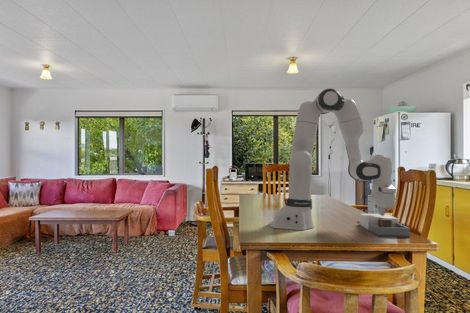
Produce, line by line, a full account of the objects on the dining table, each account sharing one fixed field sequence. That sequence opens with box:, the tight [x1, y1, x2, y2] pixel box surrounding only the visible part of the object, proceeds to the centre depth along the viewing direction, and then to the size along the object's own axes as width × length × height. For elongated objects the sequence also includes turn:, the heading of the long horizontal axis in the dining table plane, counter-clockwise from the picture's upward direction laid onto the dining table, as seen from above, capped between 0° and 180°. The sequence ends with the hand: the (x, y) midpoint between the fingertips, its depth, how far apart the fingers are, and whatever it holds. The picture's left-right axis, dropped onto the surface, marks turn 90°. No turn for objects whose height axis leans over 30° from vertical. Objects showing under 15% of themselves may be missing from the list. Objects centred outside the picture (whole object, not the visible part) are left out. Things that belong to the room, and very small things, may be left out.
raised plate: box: [359, 212, 399, 231], centre depth 160 cm, size 14×12×6 cm
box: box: [368, 222, 411, 238], centre depth 148 cm, size 14×12×4 cm
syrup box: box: [367, 194, 379, 214], centre depth 179 cm, size 6×6×14 cm
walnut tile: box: [378, 219, 392, 227], centre depth 152 cm, size 5×5×3 cm
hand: (381, 215), depth 156 cm, fingers closed
